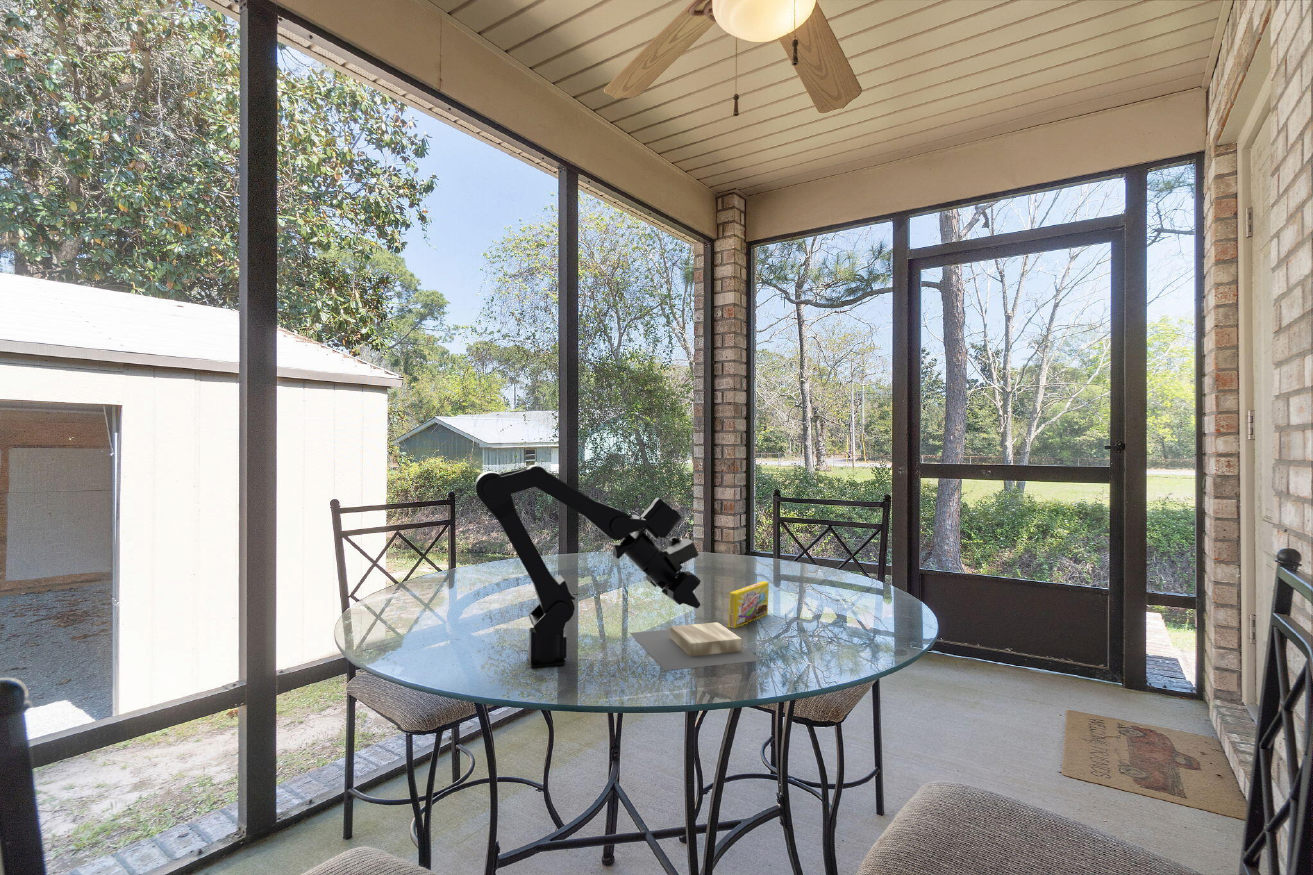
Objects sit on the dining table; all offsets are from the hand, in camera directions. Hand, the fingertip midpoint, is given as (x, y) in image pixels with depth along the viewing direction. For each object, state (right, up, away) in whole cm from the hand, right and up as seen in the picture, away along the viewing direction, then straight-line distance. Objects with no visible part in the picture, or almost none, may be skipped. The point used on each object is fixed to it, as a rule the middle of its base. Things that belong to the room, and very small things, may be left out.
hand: (698, 606), depth 133 cm
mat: (-1, -8, 0) cm, 8 cm away
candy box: (+13, -9, +19) cm, 25 cm away
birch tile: (-4, -7, -1) cm, 8 cm away
